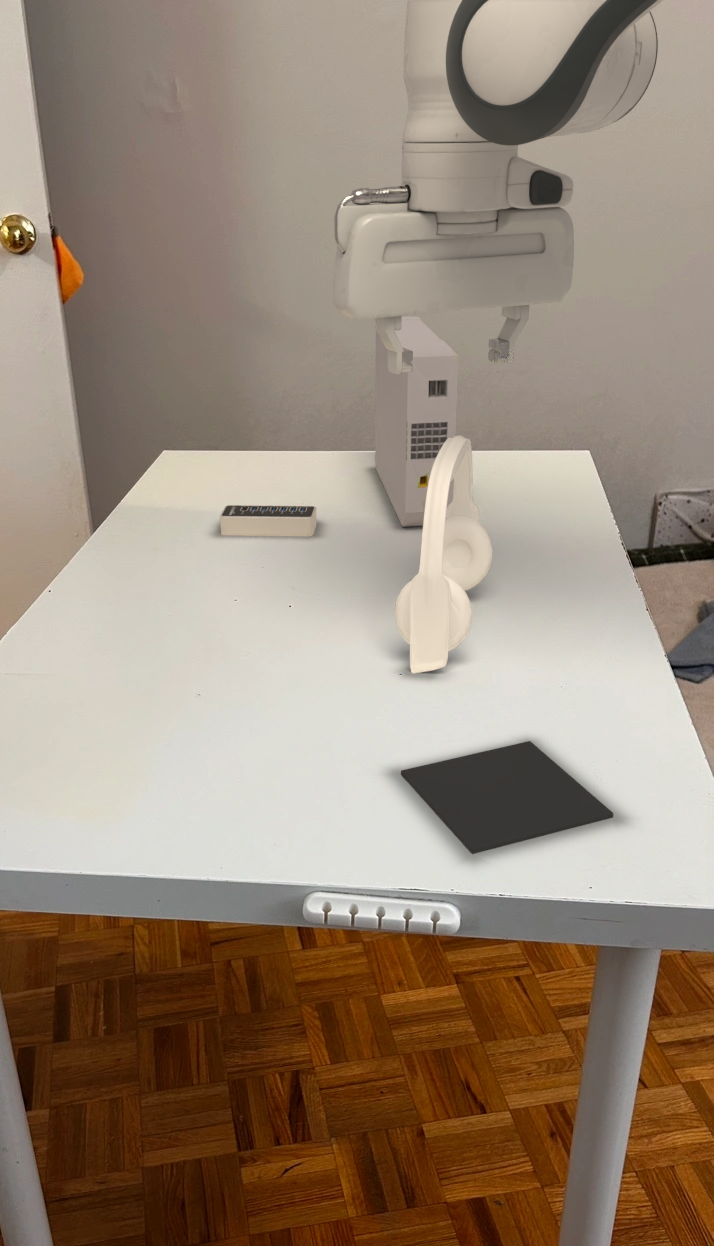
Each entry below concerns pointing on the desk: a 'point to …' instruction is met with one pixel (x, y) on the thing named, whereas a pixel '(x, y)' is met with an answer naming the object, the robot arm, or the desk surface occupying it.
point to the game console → (414, 417)
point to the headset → (445, 562)
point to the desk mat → (504, 796)
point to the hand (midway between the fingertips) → (450, 367)
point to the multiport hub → (268, 520)
